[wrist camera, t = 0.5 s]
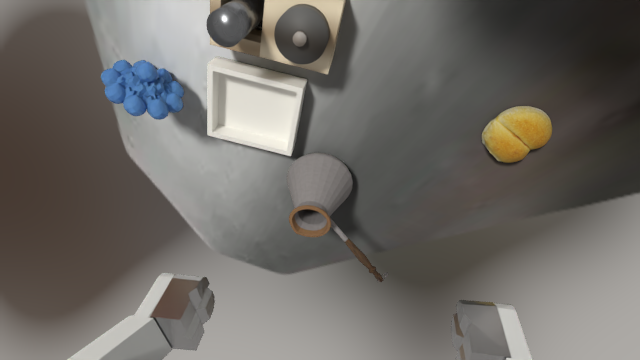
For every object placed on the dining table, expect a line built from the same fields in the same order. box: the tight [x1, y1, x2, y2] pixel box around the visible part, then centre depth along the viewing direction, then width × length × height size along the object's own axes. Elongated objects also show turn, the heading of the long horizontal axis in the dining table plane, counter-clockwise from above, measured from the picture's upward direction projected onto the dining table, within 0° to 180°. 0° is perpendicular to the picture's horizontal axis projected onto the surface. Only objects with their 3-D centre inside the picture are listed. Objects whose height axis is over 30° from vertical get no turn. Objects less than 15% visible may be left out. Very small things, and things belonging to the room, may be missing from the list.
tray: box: [207, 56, 308, 156], centre depth 55 cm, size 12×14×4 cm
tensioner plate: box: [210, 0, 346, 74], centre depth 44 cm, size 9×16×8 cm, turn 78°
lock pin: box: [207, 0, 265, 47], centre depth 43 cm, size 4×4×11 cm
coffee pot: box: [287, 153, 388, 282], centre depth 58 cm, size 21×12×15 cm, turn 51°
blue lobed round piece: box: [101, 60, 184, 119], centre depth 50 cm, size 12×7×12 cm, turn 65°
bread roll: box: [482, 106, 552, 163], centre depth 51 cm, size 8×9×4 cm
